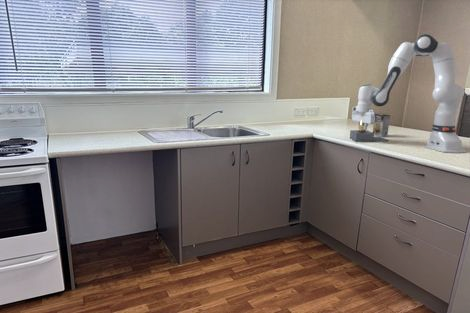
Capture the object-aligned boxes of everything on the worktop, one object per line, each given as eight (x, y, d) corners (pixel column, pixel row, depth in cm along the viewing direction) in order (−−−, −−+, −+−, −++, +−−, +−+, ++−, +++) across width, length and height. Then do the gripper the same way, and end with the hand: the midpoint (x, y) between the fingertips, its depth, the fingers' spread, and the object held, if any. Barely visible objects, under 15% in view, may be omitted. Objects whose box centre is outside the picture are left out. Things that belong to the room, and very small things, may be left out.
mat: (387, 140, 232) (387, 139, 232) (373, 141, 232) (373, 139, 232) (379, 137, 244) (380, 136, 244) (366, 137, 244) (366, 136, 243)
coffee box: (372, 135, 254) (374, 113, 250) (378, 134, 256) (381, 113, 252) (381, 137, 245) (383, 115, 241) (387, 136, 248) (390, 114, 244)
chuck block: (373, 141, 229) (374, 133, 228) (355, 141, 229) (356, 133, 227) (366, 138, 241) (367, 130, 239) (349, 138, 241) (350, 130, 239)
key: (365, 137, 233) (367, 120, 230) (360, 137, 231) (362, 120, 228) (362, 136, 236) (363, 119, 233) (357, 136, 235) (358, 119, 232)
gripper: (378, 110, 220) (376, 131, 224) (358, 107, 239) (356, 126, 243) (370, 110, 219) (368, 131, 222) (350, 107, 238) (349, 127, 241)
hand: (362, 129), depth 232 cm, fingers closed on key, 4 cm apart
